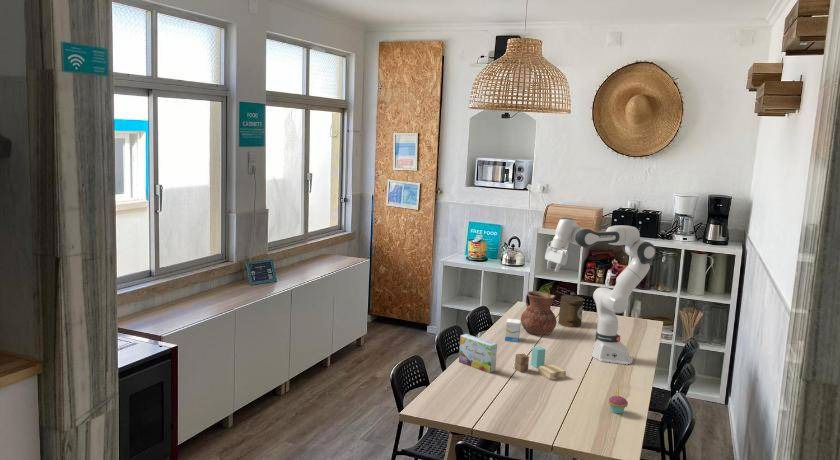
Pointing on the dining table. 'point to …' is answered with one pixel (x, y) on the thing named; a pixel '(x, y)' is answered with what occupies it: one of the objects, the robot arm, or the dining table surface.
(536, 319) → the jug
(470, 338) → the snack box
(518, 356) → the walnut block
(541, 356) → the teal block
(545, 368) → the oak base block
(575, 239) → the robot arm
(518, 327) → the ink box
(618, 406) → the cupcake
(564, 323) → the wooden container
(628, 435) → the dining table surface
